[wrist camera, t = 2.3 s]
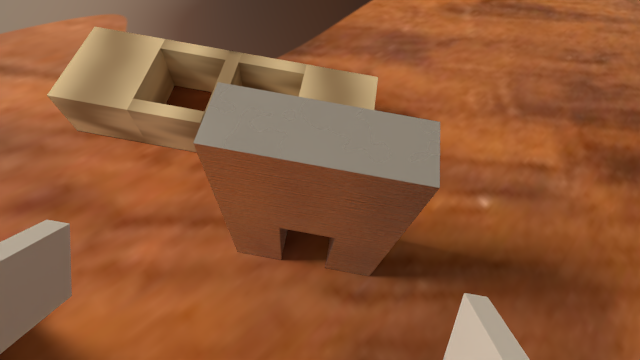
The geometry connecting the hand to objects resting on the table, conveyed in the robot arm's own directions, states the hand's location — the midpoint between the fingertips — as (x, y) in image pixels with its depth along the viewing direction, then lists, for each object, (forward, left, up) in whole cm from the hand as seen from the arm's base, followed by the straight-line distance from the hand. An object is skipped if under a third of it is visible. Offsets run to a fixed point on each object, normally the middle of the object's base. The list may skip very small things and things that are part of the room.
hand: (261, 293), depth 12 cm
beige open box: (+7, -15, -12) cm, 20 cm away
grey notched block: (-1, -6, -12) cm, 13 cm away
